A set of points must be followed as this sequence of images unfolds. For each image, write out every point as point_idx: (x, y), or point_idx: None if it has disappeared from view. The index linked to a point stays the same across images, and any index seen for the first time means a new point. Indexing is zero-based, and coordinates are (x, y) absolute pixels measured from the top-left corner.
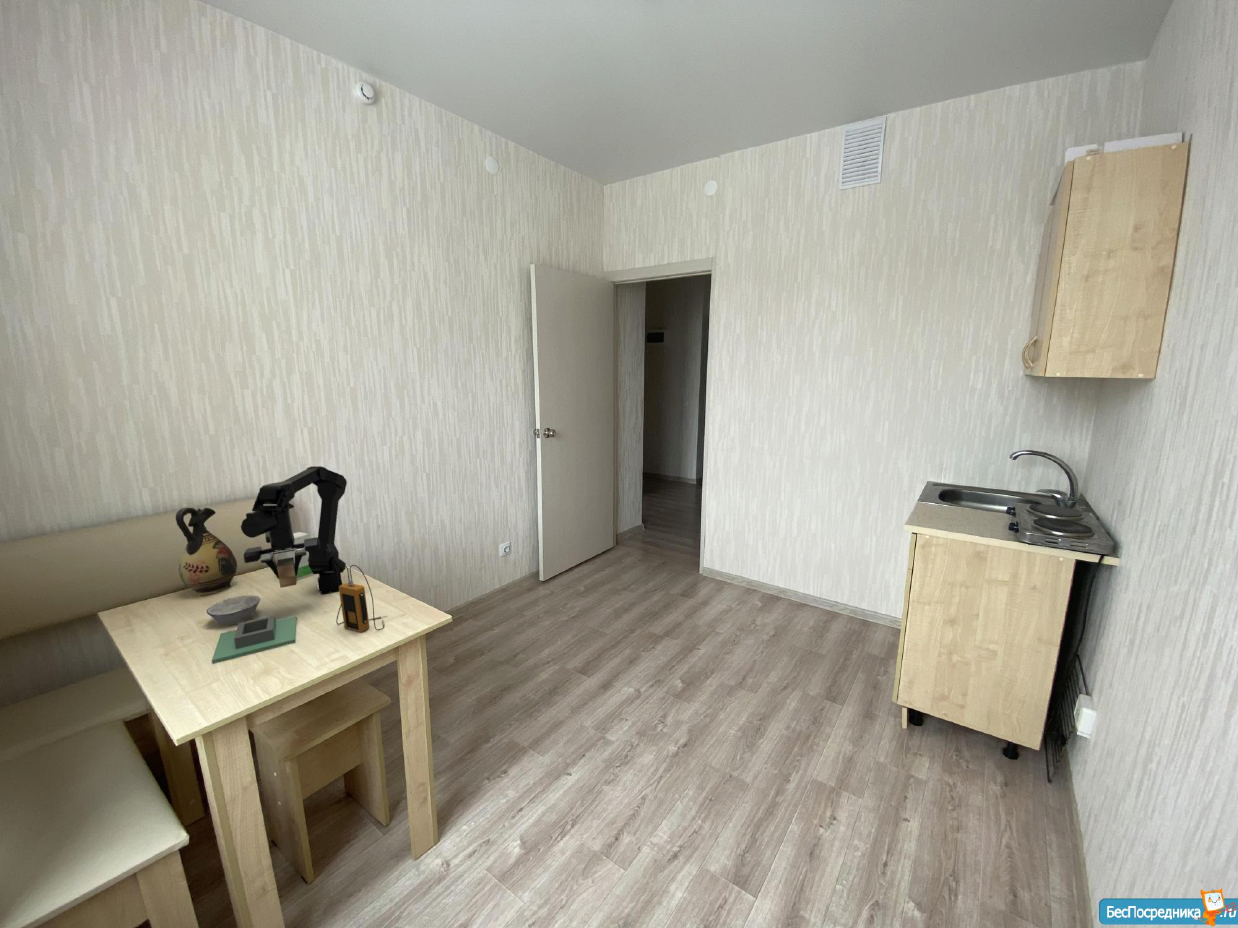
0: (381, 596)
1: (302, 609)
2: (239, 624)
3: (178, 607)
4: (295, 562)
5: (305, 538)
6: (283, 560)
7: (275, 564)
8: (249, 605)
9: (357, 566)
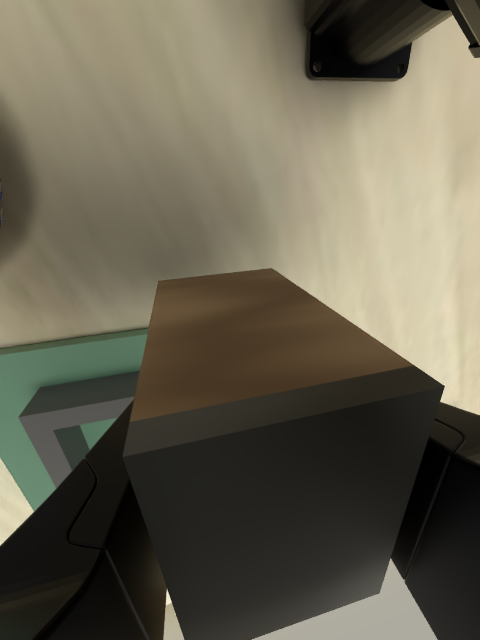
0: (470, 262)
1: (228, 234)
2: (31, 430)
3: None
4: (396, 553)
5: None
6: (264, 519)
7: (149, 604)
8: None
9: None
